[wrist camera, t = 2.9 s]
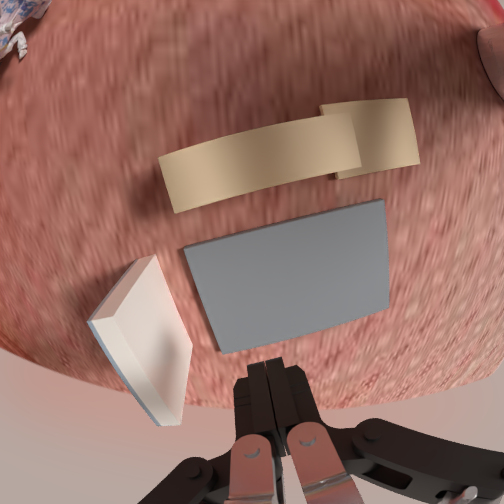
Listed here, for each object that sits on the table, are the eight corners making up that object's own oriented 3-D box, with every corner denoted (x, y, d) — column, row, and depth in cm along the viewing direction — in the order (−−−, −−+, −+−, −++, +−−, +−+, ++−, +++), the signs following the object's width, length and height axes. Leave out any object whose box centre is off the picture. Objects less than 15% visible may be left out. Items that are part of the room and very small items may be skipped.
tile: (155, 254, 18) (113, 316, 11) (192, 345, 21) (181, 424, 13) (135, 259, 18) (86, 321, 11) (174, 348, 21) (157, 426, 13)
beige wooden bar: (402, 99, 16) (435, 91, 12) (415, 163, 17) (449, 168, 14) (169, 142, 16) (152, 139, 12) (191, 215, 18) (180, 232, 14)
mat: (380, 198, 18) (384, 199, 17) (385, 304, 21) (389, 307, 20) (184, 246, 18) (183, 249, 18) (222, 349, 21) (222, 354, 21)
